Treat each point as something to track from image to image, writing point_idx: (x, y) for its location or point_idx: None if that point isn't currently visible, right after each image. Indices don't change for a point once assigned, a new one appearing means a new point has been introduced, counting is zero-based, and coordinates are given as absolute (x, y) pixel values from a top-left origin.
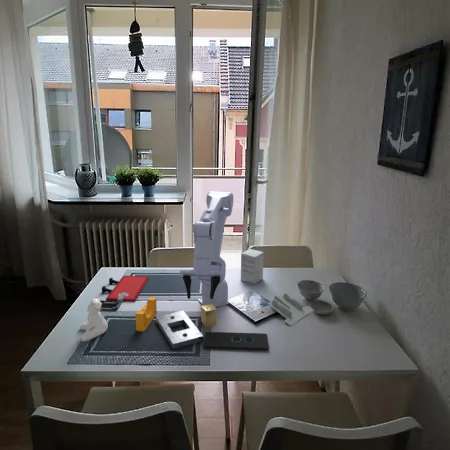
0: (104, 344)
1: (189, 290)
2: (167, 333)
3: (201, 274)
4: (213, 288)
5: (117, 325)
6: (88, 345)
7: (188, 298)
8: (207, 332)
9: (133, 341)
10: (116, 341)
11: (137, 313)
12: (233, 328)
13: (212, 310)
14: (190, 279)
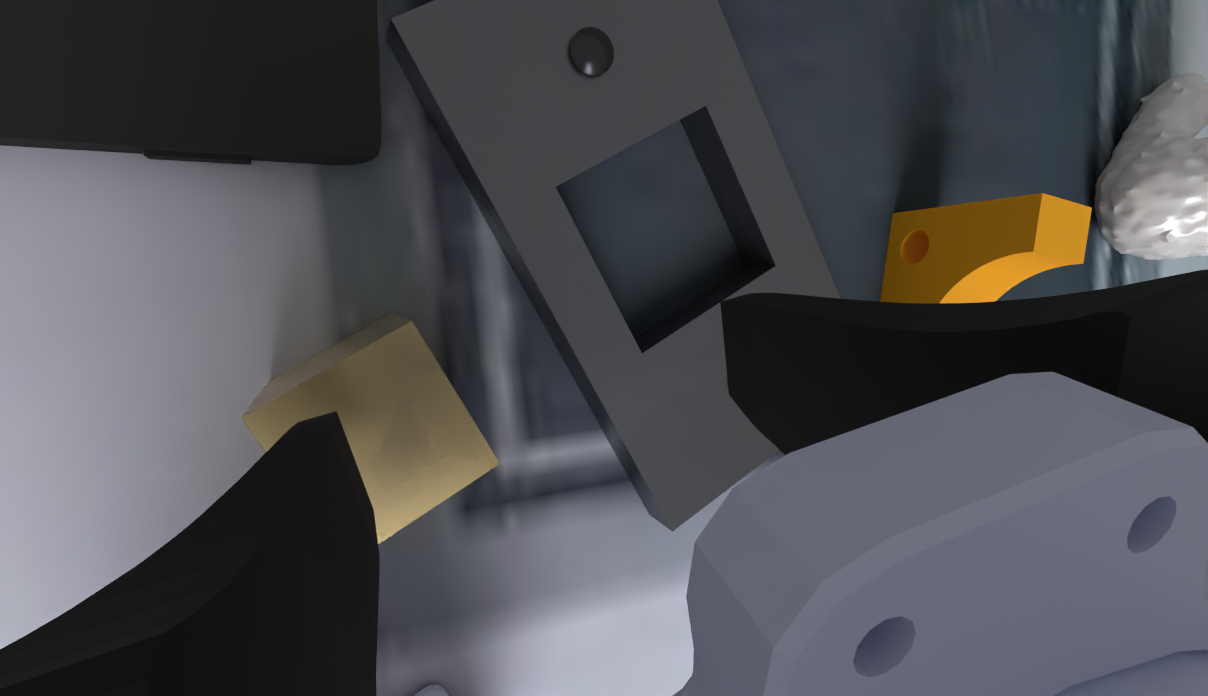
0: (1067, 50)
1: (838, 314)
2: (746, 92)
3: (1048, 382)
4: (257, 512)
5: (1046, 289)
6: (1132, 46)
7: (750, 294)
8: (354, 144)
9: (931, 76)
10: (1018, 82)
11: (1078, 212)
12: (13, 313)
13: (312, 375)
14: (1121, 309)
